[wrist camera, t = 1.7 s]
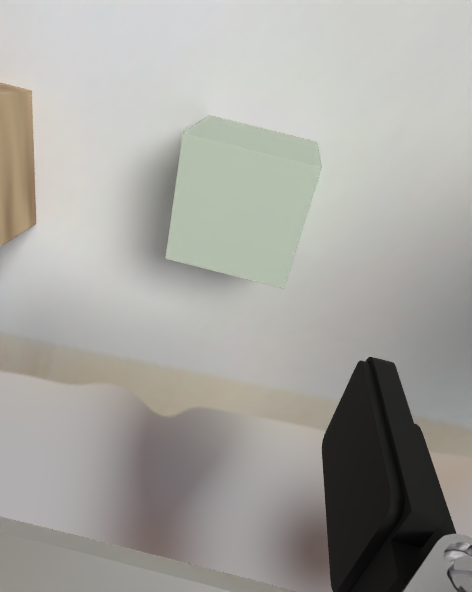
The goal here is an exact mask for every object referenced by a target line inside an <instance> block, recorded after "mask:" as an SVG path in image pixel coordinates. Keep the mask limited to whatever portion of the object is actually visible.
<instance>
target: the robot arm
mask: <svg viewBox="0 0 472 592" xmlns="http://www.w3.org/2000/svg"><path fill="white" fill-rule="evenodd" d="M322 459H323V474H324V487H325V504H326V517H327V534H328V547H329V548H328V549H329V564H330V578H331V587H332V590H333V592H472V538H470V537H468V536H465V535H458V534H456V531H455V528H454V525H453V522H452V520H451V516H450V514H449V510H448V507H447V505H446V502H445V499H444V496H443V492H442V490H441V487H440V484H439V481H438V478H437V475H436V472H435V469H434V466H433V463H432V460H431V457H430V454H429V451H428V448H427V445H426V442H425V439H424V436H423V433H422V431H421V429H420V427H419V426H418V425H417V424H414V422H413V419H412V416H411V413H410V410H409V406H408V403H407V400H406V397H405V394H404V391H403V388H402V385H401V382H400V379H399V375H398V372H397V369H396V366H395V364H394V363H393V362H389V361H385V360H381V359H377V358H373V357H369V358H368V359H367V360H366V362H364V361H359V362H358V364H357V365H356V368H355V370H354V372H353V374H352V376H351V378H350V381H349V383H348V385H347V387H346V389H345V391H344V394H343V396H342V398H341V400H340V402H339V405H338V407H337V409H336V411H335V413H334V415H333V418H332V420H331V422H330V424H329V426H328V428H327V431H326V433H325V435H324V438H323V443H322ZM0 592H295V591H292V590H288V589H284V588H281V587H277V586H273V585H269V584H266V583H262V582H258V581H255V580H251V579H247V578H244V577H240V576H236V575H232V574H228V573H224V572H220V571H216V570H212V569H208V568H204V567H200V566H196V565H192V564H188V563H184V562H180V561H177V560H172V559H169V558H165V557H161V556H156V555H153V554H148V553H145V552H141V551H137V550H133V549H129V548H125V547H121V546H117V545H113V544H109V543H105V542H101V541H97V540H93V539H89V538H85V537H80V536H77V535H73V534H68V533H65V532H60V531H57V530H53V529H49V528H45V527H41V526H37V525H32V524H28V523H24V522H20V521H16V520H12V519H8V518H4V517H0Z"/></svg>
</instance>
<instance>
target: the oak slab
mask: <svg viewBox="0 0 472 592" xmlns="http://www.w3.org/2000/svg"><path fill="white" fill-rule="evenodd" d="M35 224H36V203H35V173H34V143H33V114H32V91H31V90H27V89H23V88H19V87H15V86H11V85H7V84H3V83H0V246H2V245H4V244H5V243H7V242H8V241H10V240H11V239H13V238H15V237H16V236H18V235H19V234H21V233H22V232H24V231H26V230H27V229H29V228H30V227H32V226H33V225H35Z"/></svg>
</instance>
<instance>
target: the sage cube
mask: <svg viewBox="0 0 472 592" xmlns="http://www.w3.org/2000/svg"><path fill="white" fill-rule="evenodd" d="M321 168H322V166H321V159H320V153H319V146H318V142H316V141H312V140H308V139H304V138H300V137H296V136H292V135H288V134H284V133H280V132H276V131H272V130H268V129H264V128H260V127H256V126H252V125H248V124H244V123H240V122H236V121H232V120H228V119H224V118H220V117H215V116H211V115H209V116H208V117H206V118H205V119H203V120H201V121H200V122H198V123H197V124H195V125H194V126H192V127H191V128H189V129H188V130H186V131H185V132H183V135H182V142H181V149H180V156H179V164H178V171H177V178H176V185H175V192H174V200H173V207H172V214H171V221H170V229H169V236H168V243H167V250H166V258H165V259H169V260H173V261H177V262H181V263H184V264H188V265H192V266H196V267H200V268H204V269H208V270H212V271H216V272H220V273H224V274H228V275H232V276H235V277H239V278H243V279H247V280H251V281H255V282H259V283H263V284H267V285H271V286H275V287H279V288H283V289H284V287H285V284H286V281H287V277H288V274H289V271H290V268H291V265H292V261H293V258H294V255H295V252H296V248H297V245H298V242H299V239H300V236H301V232H302V229H303V226H304V223H305V220H306V216H307V213H308V210H309V207H310V203H311V200H312V197H313V194H314V191H315V187H316V184H317V181H318V178H319V175H320V171H321Z"/></svg>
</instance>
